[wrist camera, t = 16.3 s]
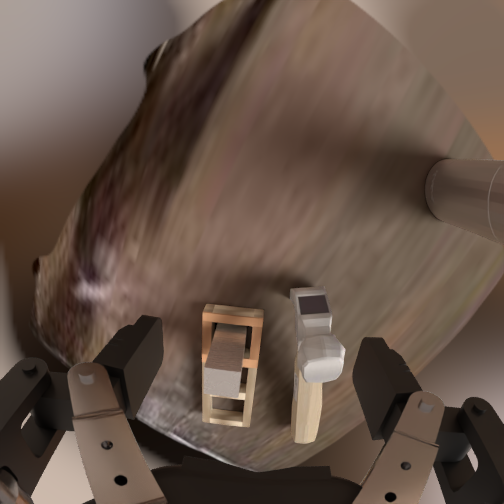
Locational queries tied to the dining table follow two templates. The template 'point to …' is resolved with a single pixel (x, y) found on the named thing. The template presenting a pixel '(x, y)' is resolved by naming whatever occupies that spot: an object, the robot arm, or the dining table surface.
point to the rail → (250, 360)
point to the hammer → (312, 359)
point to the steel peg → (225, 361)
